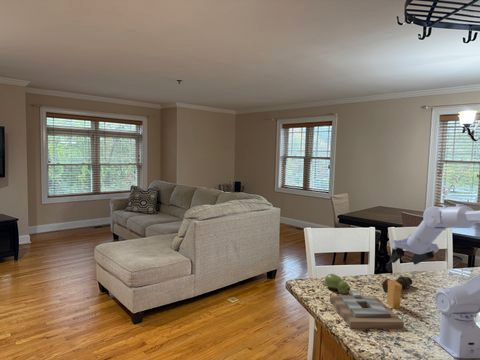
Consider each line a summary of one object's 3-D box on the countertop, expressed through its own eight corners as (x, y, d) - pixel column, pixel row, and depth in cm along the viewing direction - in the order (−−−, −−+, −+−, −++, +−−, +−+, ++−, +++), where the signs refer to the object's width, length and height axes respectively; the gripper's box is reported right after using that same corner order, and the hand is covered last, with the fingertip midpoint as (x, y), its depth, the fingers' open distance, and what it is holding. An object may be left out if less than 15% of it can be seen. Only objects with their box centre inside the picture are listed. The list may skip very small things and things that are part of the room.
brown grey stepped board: (403, 328, 96) (404, 315, 96) (350, 328, 95) (351, 314, 95) (374, 301, 114) (375, 290, 114) (329, 300, 113) (330, 289, 113)
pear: (332, 270, 128) (354, 282, 121) (329, 282, 129) (351, 295, 122) (323, 273, 124) (346, 285, 117) (320, 285, 125) (342, 299, 118)
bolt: (410, 290, 130) (389, 297, 121) (399, 280, 133) (379, 287, 124) (418, 280, 127) (398, 287, 118) (408, 270, 130) (387, 276, 122)
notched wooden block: (400, 308, 109) (401, 285, 108) (393, 308, 109) (394, 285, 108) (393, 302, 114) (394, 280, 113) (386, 302, 113) (387, 280, 113)
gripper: (440, 227, 104) (418, 252, 113) (396, 224, 102) (378, 249, 112) (450, 246, 98) (427, 270, 108) (404, 242, 97) (385, 267, 106)
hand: (402, 261), depth 109 cm, fingers open, 7 cm apart
